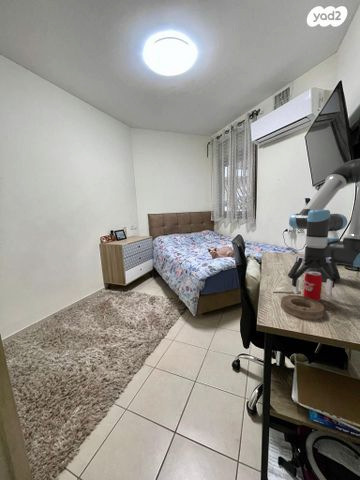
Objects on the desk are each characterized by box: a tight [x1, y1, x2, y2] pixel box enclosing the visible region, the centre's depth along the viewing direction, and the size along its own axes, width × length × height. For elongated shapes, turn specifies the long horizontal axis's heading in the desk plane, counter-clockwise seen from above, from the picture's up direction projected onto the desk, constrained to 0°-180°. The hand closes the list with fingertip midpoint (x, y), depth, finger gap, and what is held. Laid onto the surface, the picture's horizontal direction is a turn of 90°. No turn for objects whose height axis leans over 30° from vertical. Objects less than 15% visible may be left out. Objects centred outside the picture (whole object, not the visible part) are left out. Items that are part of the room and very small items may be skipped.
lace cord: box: [272, 289, 302, 294], centre depth 92 cm, size 12×1×1 cm, turn 83°
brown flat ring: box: [280, 294, 325, 320], centre depth 76 cm, size 14×14×3 cm
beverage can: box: [303, 270, 323, 302], centre depth 84 cm, size 6×6×12 cm
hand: (311, 293), depth 84 cm, fingers open, 13 cm apart
